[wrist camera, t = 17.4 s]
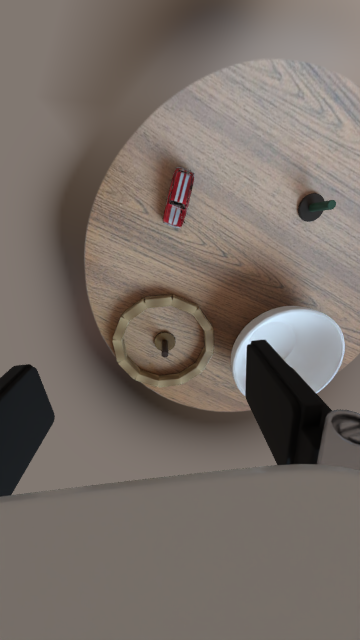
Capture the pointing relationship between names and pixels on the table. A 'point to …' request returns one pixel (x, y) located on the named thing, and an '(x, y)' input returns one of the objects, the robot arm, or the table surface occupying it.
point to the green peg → (314, 207)
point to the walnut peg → (164, 342)
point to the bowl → (294, 344)
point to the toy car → (178, 197)
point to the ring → (170, 378)
